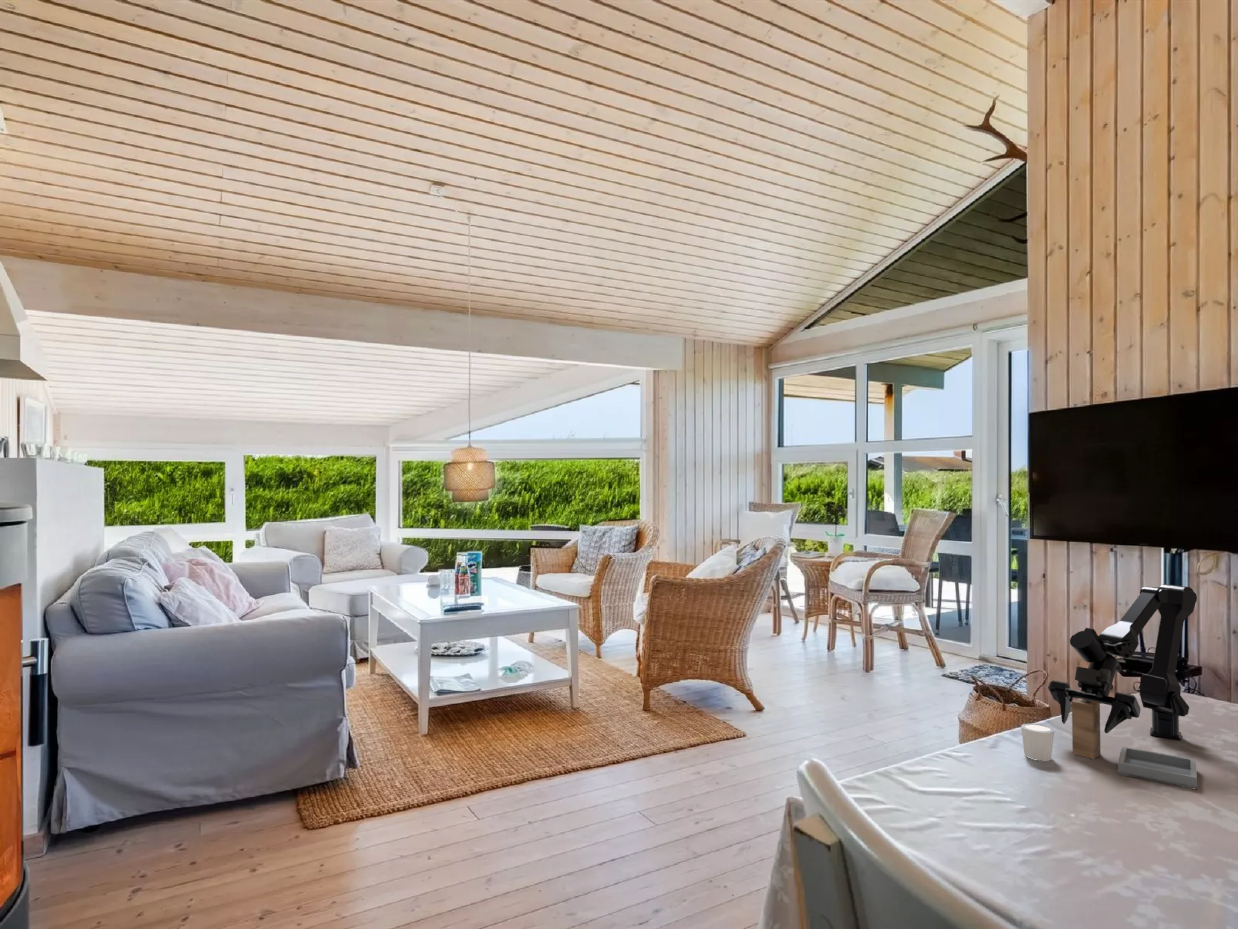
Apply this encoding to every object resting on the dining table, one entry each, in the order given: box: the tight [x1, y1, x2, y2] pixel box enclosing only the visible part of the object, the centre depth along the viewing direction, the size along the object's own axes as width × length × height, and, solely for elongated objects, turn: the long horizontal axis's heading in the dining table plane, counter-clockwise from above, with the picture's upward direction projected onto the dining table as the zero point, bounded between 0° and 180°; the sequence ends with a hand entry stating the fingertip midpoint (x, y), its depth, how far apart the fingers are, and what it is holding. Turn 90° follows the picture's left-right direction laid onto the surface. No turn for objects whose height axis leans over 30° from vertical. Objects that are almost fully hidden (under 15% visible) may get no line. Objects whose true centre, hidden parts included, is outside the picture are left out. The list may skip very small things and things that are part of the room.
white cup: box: [1020, 723, 1055, 762], centre depth 178 cm, size 7×7×7 cm
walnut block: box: [1071, 698, 1101, 759], centre depth 180 cm, size 4×4×13 cm
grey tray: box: [1117, 745, 1198, 790], centre depth 168 cm, size 14×14×2 cm
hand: (1083, 727), depth 179 cm, fingers open, 9 cm apart
